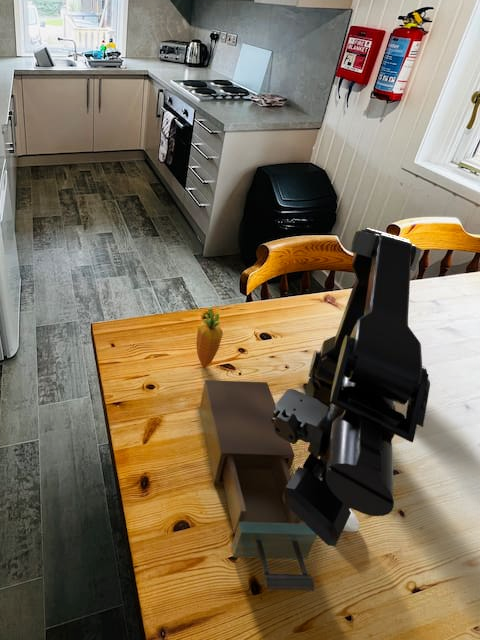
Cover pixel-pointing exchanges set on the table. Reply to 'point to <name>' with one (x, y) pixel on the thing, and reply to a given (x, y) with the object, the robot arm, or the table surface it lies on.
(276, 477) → the drawer
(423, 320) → the table surface
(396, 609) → the table surface
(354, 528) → the dumpling
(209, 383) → the cabinet
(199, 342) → the carrot
